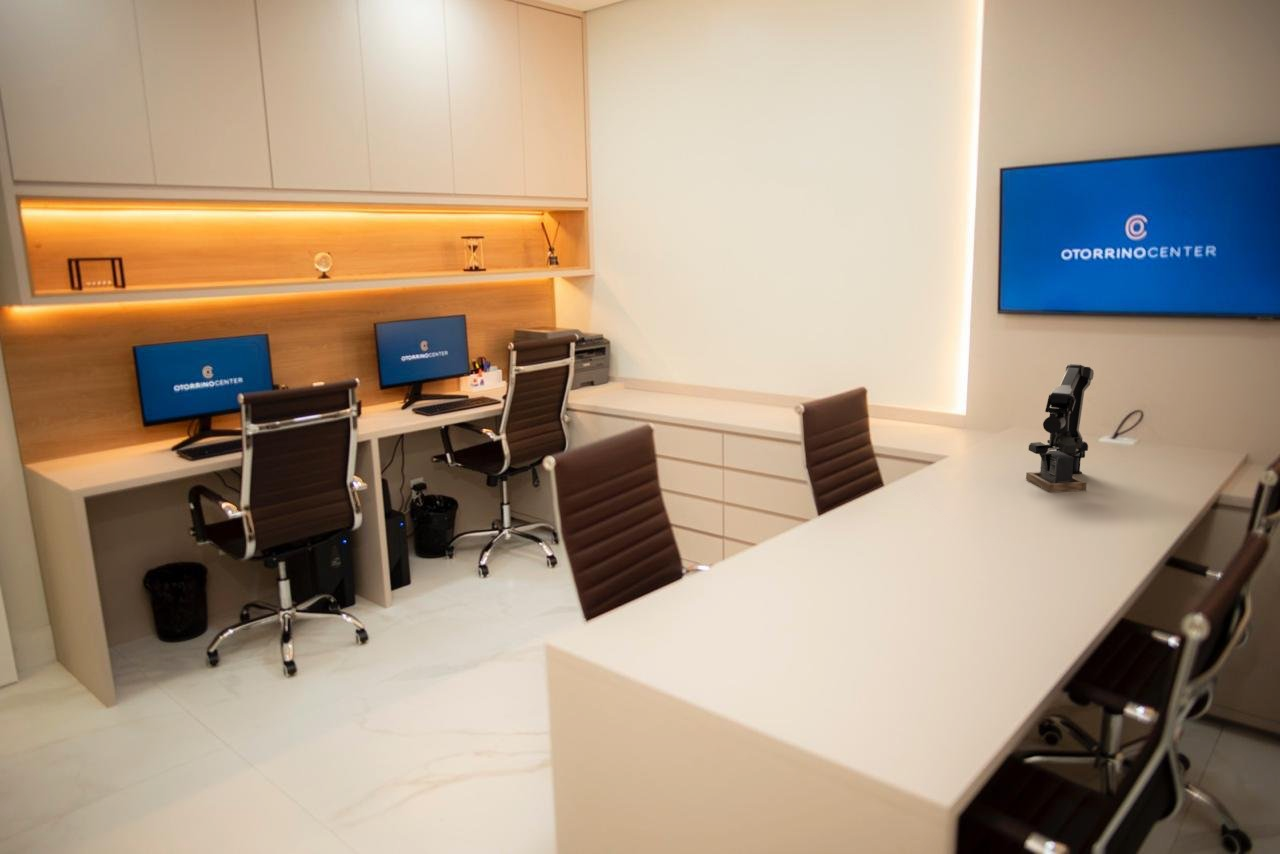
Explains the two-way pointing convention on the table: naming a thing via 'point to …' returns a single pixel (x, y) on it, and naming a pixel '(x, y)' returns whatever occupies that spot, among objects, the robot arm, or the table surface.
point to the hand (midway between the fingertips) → (1056, 470)
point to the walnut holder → (1056, 487)
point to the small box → (1058, 468)
